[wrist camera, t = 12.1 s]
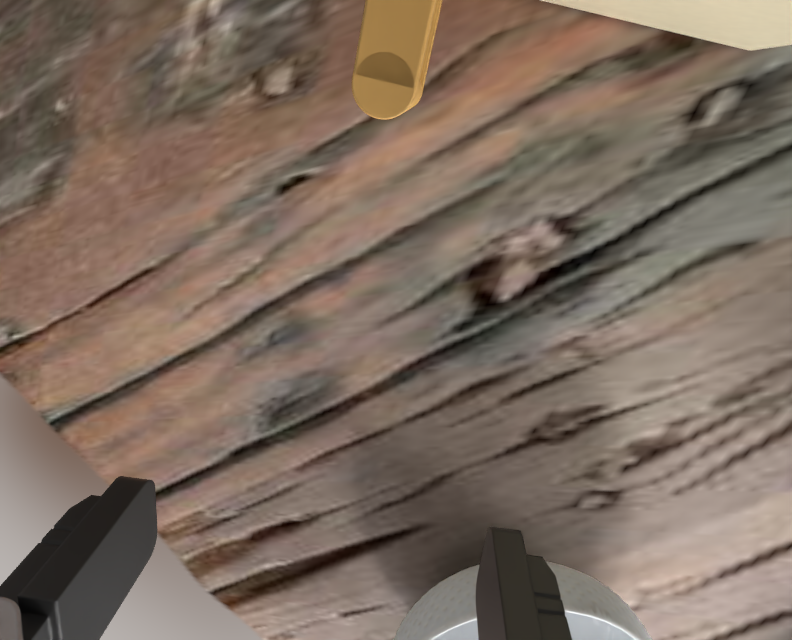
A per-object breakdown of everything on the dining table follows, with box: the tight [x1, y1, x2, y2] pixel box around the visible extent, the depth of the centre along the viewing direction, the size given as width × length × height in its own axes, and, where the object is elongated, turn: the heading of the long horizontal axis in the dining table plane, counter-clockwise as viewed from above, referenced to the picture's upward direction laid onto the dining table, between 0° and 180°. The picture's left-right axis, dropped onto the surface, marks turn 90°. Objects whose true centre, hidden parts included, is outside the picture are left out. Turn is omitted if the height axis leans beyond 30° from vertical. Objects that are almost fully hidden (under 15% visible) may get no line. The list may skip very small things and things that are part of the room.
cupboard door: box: [352, 0, 792, 119], centre depth 18 cm, size 7×18×19 cm, turn 78°
